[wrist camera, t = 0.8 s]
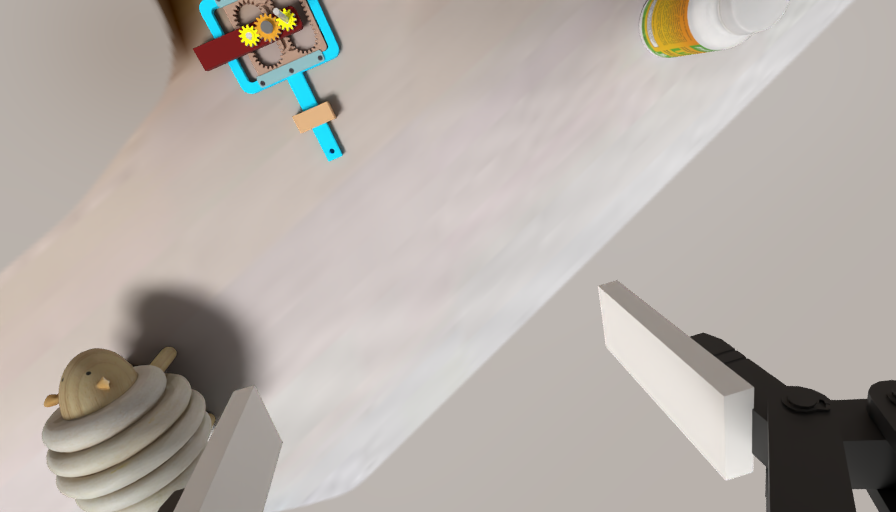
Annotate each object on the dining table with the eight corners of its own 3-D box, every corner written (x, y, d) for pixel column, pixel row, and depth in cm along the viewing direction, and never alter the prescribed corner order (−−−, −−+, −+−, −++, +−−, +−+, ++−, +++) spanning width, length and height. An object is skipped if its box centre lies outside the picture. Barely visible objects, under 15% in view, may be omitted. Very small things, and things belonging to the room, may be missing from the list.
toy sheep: (174, 299, 38) (96, 373, 28) (269, 442, 44) (234, 546, 34) (58, 344, 38) (-62, 435, 28) (169, 481, 44) (103, 598, 34)
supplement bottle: (641, 67, 37) (724, 56, 28) (632, -4, 35) (718, -39, 26) (702, 47, 38) (804, 30, 28) (695, -25, 36) (802, -67, 27)
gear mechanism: (276, 183, 37) (380, 137, 37) (260, 196, 32) (380, 143, 32) (123, -90, 30) (251, -147, 30) (71, -129, 25) (224, -197, 25)
